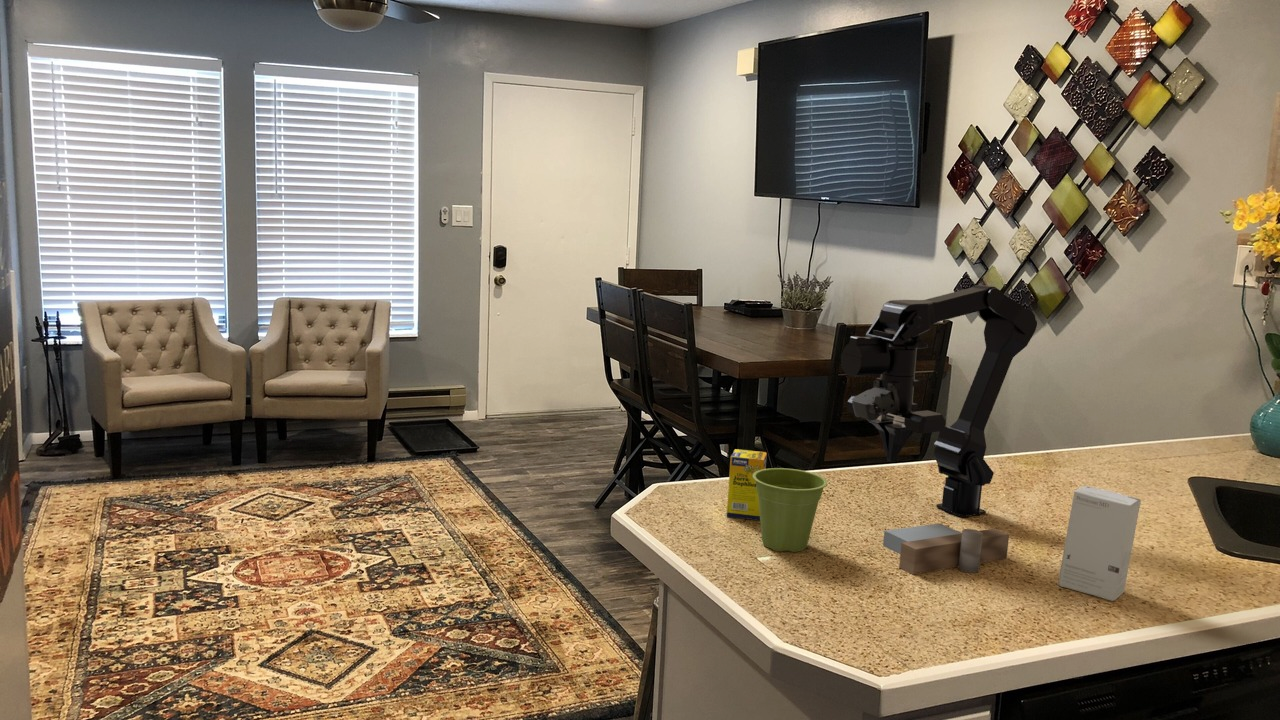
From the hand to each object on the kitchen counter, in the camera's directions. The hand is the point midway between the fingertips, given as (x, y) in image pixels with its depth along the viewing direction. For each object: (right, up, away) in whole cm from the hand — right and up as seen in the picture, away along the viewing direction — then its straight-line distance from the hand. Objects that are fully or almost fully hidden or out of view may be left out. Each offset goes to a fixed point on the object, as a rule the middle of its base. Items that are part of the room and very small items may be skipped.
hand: (891, 460), depth 175 cm
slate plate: (+3, -14, -13) cm, 19 cm away
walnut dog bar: (+6, -14, -20) cm, 25 cm away
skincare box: (+23, -17, -27) cm, 39 cm away
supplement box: (-26, -10, +1) cm, 27 cm away
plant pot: (-21, -12, -15) cm, 28 cm away
